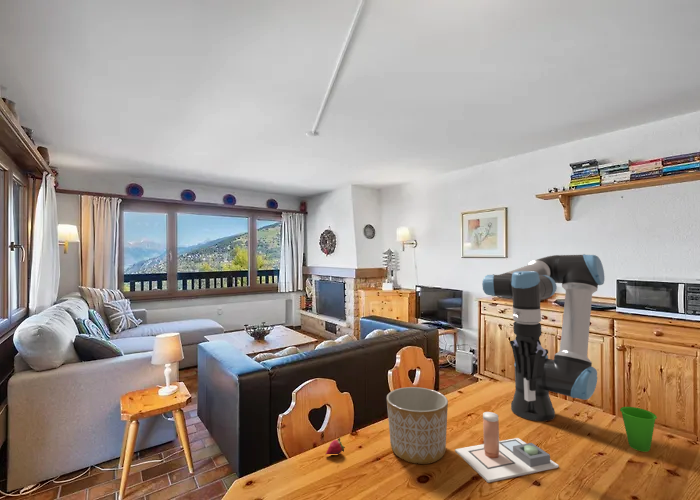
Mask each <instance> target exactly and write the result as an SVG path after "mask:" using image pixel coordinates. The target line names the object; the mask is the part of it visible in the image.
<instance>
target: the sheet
mask: <svg viewBox="0 0 700 500" xmlns="http://www.w3.org/2000/svg"><path fill="white" fill-rule="evenodd" d="M522 444H527V442H525V441H523V440H522V439H520V438H519V437H515V438H510V439H503V440H499V457H498V458H489V457H487V456H486V455H485V450H484V443H481V444H478V445H477V444H476V445H471V446H466V447H459V448H456V449H454V452H455V453H456V454H457V455H458V456H459V457H461V458H462V459H463V461H465V462H466V463H467V464H468V465H469V466H470V467H471V468H472V469H473V470H474V471H475V472H476V473H478V475H479V476H480V477H482V479H483V480H485V481H486V483H493V482H498V481H503V480H506V479H512V478H517V477H520V476H521V477H522V476H525V475H526V476H527V475H530V474H534V473H535V474H536V473H538V472H539V473H540V472H544V471H548V470H553V469H557V468H559V466H560V465H559V464H558V463H556V462H555V461H553V460H552V459H550V463H549V464H544V465H539V466H535V467H530V466H528V465H527V464H526V463H524V462H523V461H522V460H520V459H519V458H518V457H516V456H515V455H514V454H513V446H517V445H522Z"/></svg>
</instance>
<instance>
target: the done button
mask: <svg viewBox="0 0 700 500" xmlns="http://www.w3.org/2000/svg"><path fill="white" fill-rule="evenodd" d="M524 452H526V453H527V454H529V455H530V456H532V455H537V454H538V449H537V448H536V447H534V446H531V445H526V446H524Z"/></svg>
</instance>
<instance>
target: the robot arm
mask: <svg viewBox="0 0 700 500" xmlns="http://www.w3.org/2000/svg"><path fill="white" fill-rule="evenodd" d="M602 263H603V262H602V261H601V259H600V258H599V256H597V255H596V254H585V253H583V254H556V255H549V256H545V257H541V258H538V259H535V260H531V261H530V262H528V263H527V265H524V266H522V267H519V268H518V267H517V268H516V269H513V270H510V271H507V272H503V273H501V274H487V275H485V276H484V277H483V280H482V290H483V293H485V295H487V296H492V297H503V298H508V297H509V298H512V313H513V315H512V317H513V318H512V319H513V321H514V322H513V334H514V335H515V339H512V340H509V344H510V347H511V349H512V353H513V359H514V365H513V366H514V379H515V381H514V382H515V384H514V385H515V391H514V395H513V398H512V401H511V402H510V403H511V404H510V406H511V407H510V409H511V410H510V411H512V413H513V414H514V415H516V416H517V417H520V418H522V419H526V420H530V421H535V422H548V421H549V422H550V421H552V420H554V419H555V417H556V414H555V413H556V412H555V408H554V406H553V402H552V400H551V397H550V393H549V392H552V393H554V394H555V393H556V394H559V395H563V396H566V397H570V398H573V399H580V400H582V401H583V400H589V399H591V397H592V396H593V395H594V393H595V391H596V388H597V383H598V371H597V369H596V368H595V367H594V366H592V364H593V363H592V361H591V360H590V359H589V357H588V350H589V336H590V325H591V313H592V301H593V294H594V293H596V292H598V290H599V289H598V287H599V286H602V285H604V284H605V271H604V267H603V264H602ZM557 284H561V287H562V288H563V289H564V291H565V297H564V306H563V315H562V325H561V334H560V335H561V336H560V345H559V351H558V352H556V353H554V355H553V357H554V358H553V359H550V358H549V355H548V354H549V350H548V349H547V348H545V349H544V347H542V343H541V340H540V337H541V336H542V323H541V322H542V313H541V312H542V311H541V300H546V299H548V298H551V297H552V296H554V295H555V293H556V292H557Z"/></svg>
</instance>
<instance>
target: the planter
mask: <svg viewBox="0 0 700 500" xmlns="http://www.w3.org/2000/svg"><path fill="white" fill-rule="evenodd" d="M448 400H449V399H448V398H447V397H446V396H445V395H444V394H443V393H441V392H439V391H436V390H434V389H430V388H426V387H419V386H417V387H416V386H415V387H414V386H408V387H406V386H405V387H400V388H396V389H394V390H391V391H390V392H389V393H388V394H387V395H386V406H387V407H386V408H387V418H388V419H387V420H388V429H389V440H390V447H391V449H392V452H393V453H394V454H395V455H396V456H397V457H399V458H400V459H401V458H402V459H401V460H403V459H404V461H405V460H406V461H405V462H408V461H409V463H411V462H412V464H417V463H418V465H419V464H421V465H426V464H432V463H435V462H437V461H439V460H441V459H442V458H443V456H444V455H445V453H446V448H447V429H448V428H447V427H448V425H447V424H448V408H449V406H448V405H449V404H448V403H449V401H448Z"/></svg>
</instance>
